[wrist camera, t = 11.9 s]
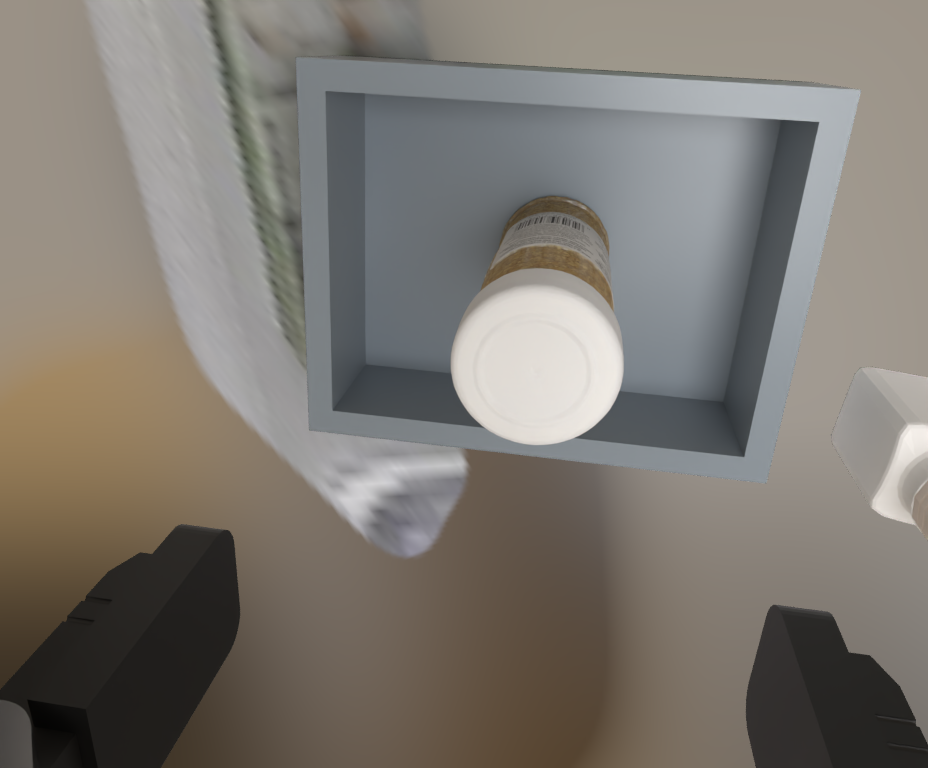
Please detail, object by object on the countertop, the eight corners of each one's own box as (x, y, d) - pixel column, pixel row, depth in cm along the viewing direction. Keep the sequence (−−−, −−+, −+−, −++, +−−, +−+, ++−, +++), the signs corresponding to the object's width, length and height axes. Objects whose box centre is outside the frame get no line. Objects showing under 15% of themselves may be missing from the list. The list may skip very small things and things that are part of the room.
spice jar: (488, 282, 33) (428, 421, 21) (519, 178, 31) (473, 264, 19) (590, 314, 33) (590, 472, 21) (628, 211, 31) (652, 319, 19)
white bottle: (914, 457, 34) (1022, 595, 26) (822, 440, 35) (899, 570, 26) (950, 376, 33) (1078, 494, 24) (854, 358, 33) (946, 469, 24)
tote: (347, 55, 31) (295, 57, 26) (810, 81, 29) (861, 90, 24) (350, 373, 37) (309, 430, 31) (738, 415, 35) (766, 483, 29)
